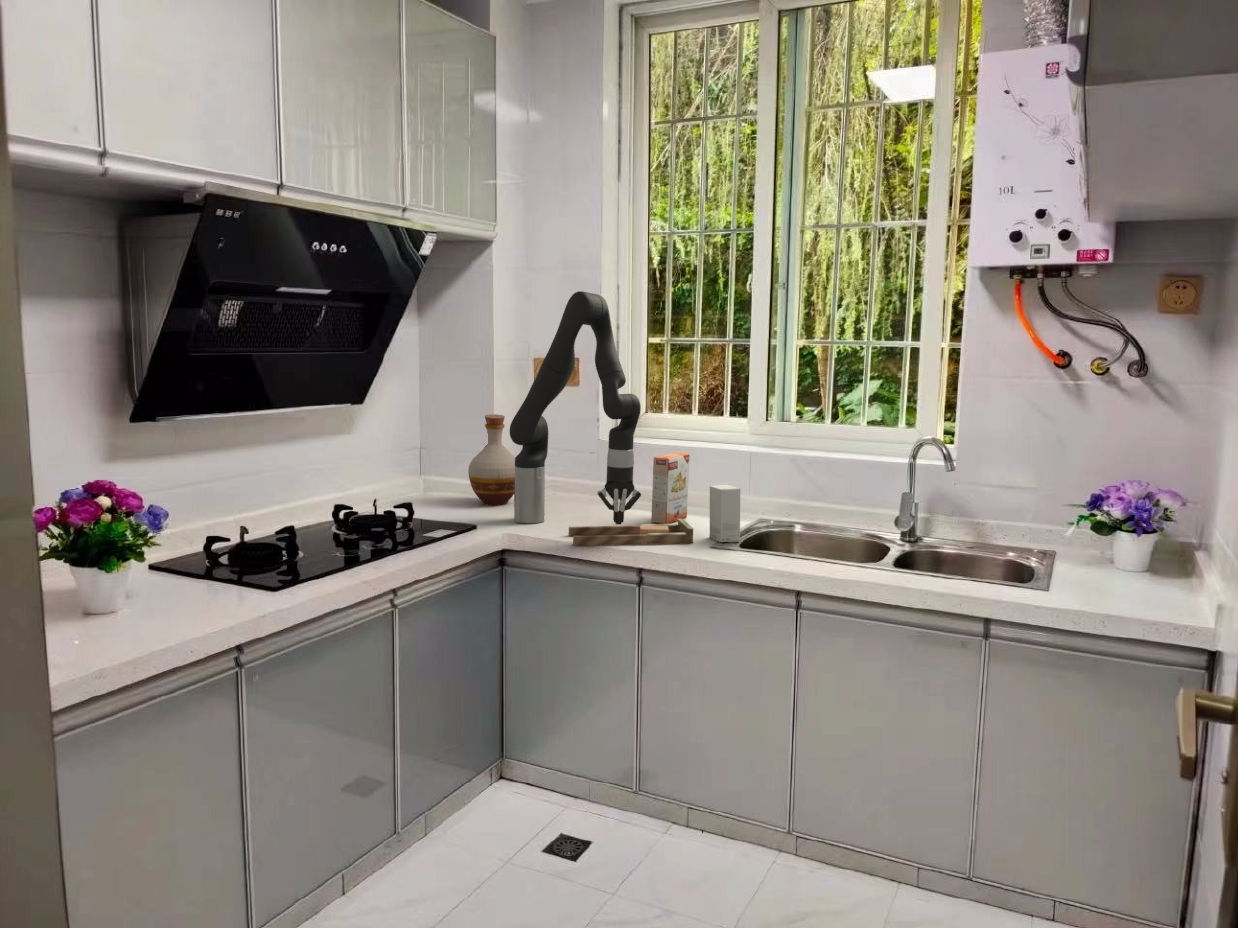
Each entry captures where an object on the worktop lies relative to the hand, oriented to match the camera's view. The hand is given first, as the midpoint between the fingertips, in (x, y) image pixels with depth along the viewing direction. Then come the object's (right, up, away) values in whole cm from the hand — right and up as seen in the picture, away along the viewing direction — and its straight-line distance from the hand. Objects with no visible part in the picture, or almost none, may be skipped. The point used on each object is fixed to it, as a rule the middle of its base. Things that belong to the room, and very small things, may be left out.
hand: (618, 523), depth 266 cm
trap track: (+3, -4, +1) cm, 6 cm away
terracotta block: (+10, -5, 0) cm, 11 cm away
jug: (-42, +4, +51) cm, 66 cm away
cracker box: (+16, -1, +27) cm, 32 cm away
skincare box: (+30, -5, +3) cm, 31 cm away
